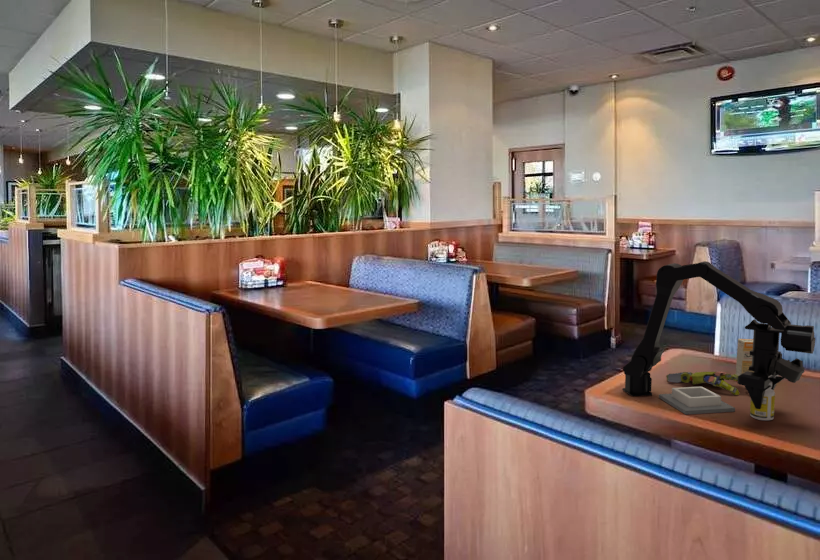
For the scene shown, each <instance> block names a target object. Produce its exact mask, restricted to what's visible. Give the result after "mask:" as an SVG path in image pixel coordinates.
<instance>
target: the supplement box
mask: <svg viewBox="0 0 820 560" xmlns="http://www.w3.org/2000/svg"><path fill="white" fill-rule="evenodd" d="M751 350H753V338H737V349H736V351H737V352H736V362H735V363H736V366H735V367H736V368H735V375H738V376H739V375H741V374H742V373H744V372H746V371H749V366H751V365H752V355H750V351H751ZM749 372H754V371H749ZM736 377H737V376H736Z"/></svg>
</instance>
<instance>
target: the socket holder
mask: <svg viewBox="0 0 820 560" xmlns="http://www.w3.org/2000/svg"><path fill="white" fill-rule="evenodd" d="M658 399H660V400H661V401H664V402H665V403H666V404H668V405H670V406H671V407H673V408H674V409H676V410H677V411H680V413H683V415H701V414H715V413H716V414H718V413H734V412H736V408H735V407H734V406H733V405H731V404H729V403H726V402H725V401H723V400H722V396H721V395H720V394H718V393H715V392H713V391H711V390H709V389H708V388H705V387H703V386H687V387H686V386H685V387H684V386H683V387H672V388H671V393H659V394H658Z"/></svg>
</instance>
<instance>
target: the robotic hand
mask: <svg viewBox="0 0 820 560" xmlns="http://www.w3.org/2000/svg"><path fill="white" fill-rule="evenodd" d="M736 376H737V377H736ZM665 377H666V380H667V382H670V383H683V384H687V383H692V385H693V386H694V385H698V384H704V383H707V384H710V385H712V386H713V387H715V388H717V387H719V388H721V389H724V390H726V391H729V392H730V393H731V394H732V395H734V396H739V395H740V394H741V393H740V391H739V389H738V388H737V387H736V386H732V385H731V383H728V382H727V381H730V380H731V381H735V382H738V375H736V373H733V374H731V373H729V372H725V371H722V370H721V371H699V372H697V371H696V372H694V373H693V372H691V371H683V372H676V373H669V374H668V373H667V375H666V376H665ZM725 380H726V381H725Z"/></svg>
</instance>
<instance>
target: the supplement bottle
mask: <svg viewBox="0 0 820 560" xmlns="http://www.w3.org/2000/svg"><path fill="white" fill-rule="evenodd" d="M769 385H771V387H770V388H768V389H767V390H765V393H764V397H763V402H762V405H761V409H756V408H755V406H754V404H753V402H752V400H751V399H750V405H749V407H750V408H749V409H750V411H749V415H750V417H752V418H753V419H755V420H759V421H772V420H774V418H775V404H776V402H775V400H776V399H775V398H776V392H775V390H774V391H773V390H772V389H771V388H772V381H769Z"/></svg>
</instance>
